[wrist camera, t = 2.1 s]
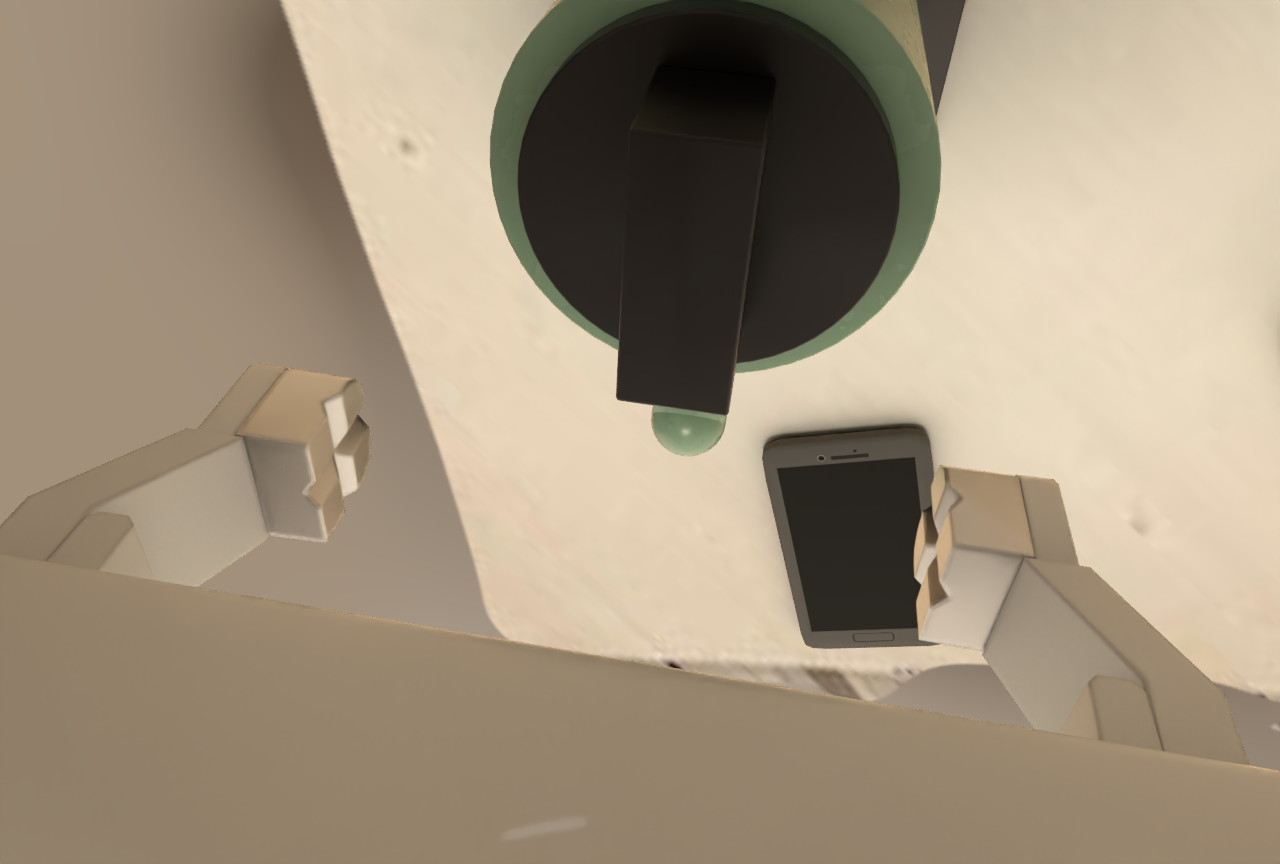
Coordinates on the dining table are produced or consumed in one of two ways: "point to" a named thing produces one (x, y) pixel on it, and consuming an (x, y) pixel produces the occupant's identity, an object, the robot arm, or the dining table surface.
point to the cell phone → (852, 532)
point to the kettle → (716, 183)
